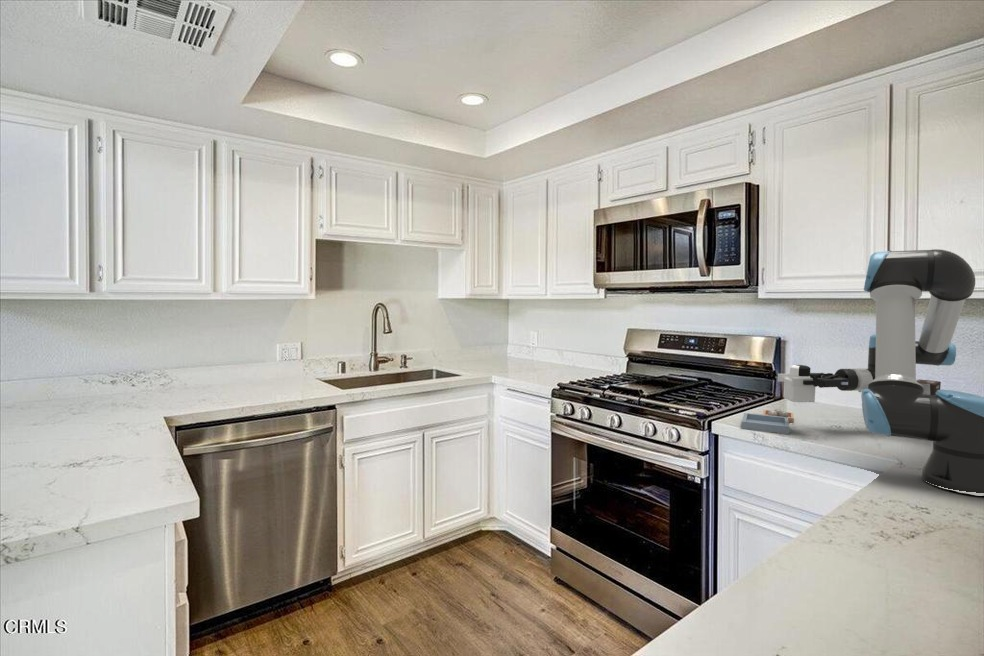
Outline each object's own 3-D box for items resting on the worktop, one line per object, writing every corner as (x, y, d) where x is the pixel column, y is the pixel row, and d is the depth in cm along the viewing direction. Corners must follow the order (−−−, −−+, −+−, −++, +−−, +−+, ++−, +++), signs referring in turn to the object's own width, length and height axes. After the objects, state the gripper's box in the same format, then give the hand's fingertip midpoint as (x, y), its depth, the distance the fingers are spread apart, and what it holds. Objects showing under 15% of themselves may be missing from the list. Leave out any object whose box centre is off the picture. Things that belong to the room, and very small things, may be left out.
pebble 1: (777, 419, 188) (777, 411, 188) (767, 418, 190) (768, 410, 190) (777, 417, 191) (777, 410, 191) (768, 416, 193) (768, 409, 192)
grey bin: (788, 434, 171) (789, 426, 171) (741, 428, 178) (741, 421, 178) (788, 424, 184) (788, 417, 183) (743, 419, 191) (744, 412, 190)
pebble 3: (788, 420, 187) (788, 412, 186) (778, 419, 188) (779, 411, 188) (788, 418, 189) (788, 411, 189) (778, 417, 191) (779, 410, 191)
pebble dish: (793, 423, 184) (793, 418, 184) (762, 420, 189) (762, 415, 189) (792, 417, 193) (793, 412, 193) (763, 414, 198) (763, 409, 198)
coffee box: (932, 429, 177) (935, 384, 176) (909, 425, 182) (911, 381, 181) (938, 424, 183) (941, 381, 181) (915, 421, 188) (918, 378, 186)
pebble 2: (782, 418, 191) (782, 410, 190) (773, 417, 192) (773, 409, 192) (782, 416, 193) (782, 408, 193) (773, 415, 195) (773, 407, 194)
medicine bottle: (804, 398, 176) (806, 364, 175) (815, 402, 169) (816, 367, 168) (782, 397, 177) (784, 363, 176) (792, 402, 170) (794, 366, 169)
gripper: (873, 396, 163) (802, 396, 163) (831, 384, 183) (768, 384, 183) (875, 373, 162) (803, 374, 162) (832, 364, 182) (769, 364, 183)
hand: (785, 379), depth 173 cm, fingers closed on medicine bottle, 8 cm apart
